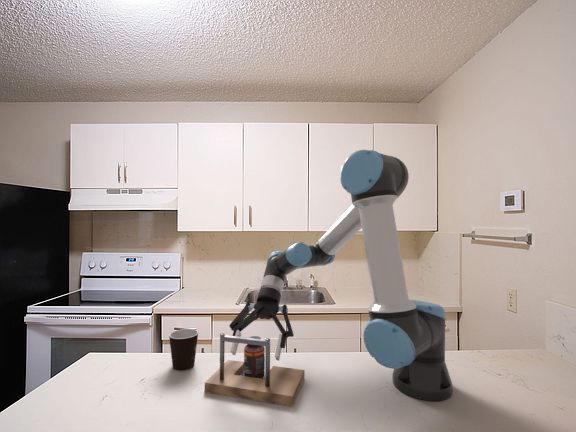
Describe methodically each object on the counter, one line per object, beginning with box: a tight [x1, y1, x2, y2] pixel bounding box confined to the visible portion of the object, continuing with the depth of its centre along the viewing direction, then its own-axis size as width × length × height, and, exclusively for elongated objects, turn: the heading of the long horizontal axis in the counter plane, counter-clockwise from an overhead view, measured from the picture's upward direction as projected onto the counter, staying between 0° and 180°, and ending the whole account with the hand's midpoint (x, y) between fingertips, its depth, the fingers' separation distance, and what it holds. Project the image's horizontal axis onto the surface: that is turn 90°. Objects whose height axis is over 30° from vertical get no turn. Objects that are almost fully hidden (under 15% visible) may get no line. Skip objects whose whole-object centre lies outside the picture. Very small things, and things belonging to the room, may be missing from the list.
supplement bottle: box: [243, 335, 266, 379], centre depth 90 cm, size 6×6×11 cm
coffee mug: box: [168, 328, 199, 372], centre depth 98 cm, size 12×9×10 cm
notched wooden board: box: [204, 359, 305, 408], centre depth 86 cm, size 24×14×2 cm, turn 75°
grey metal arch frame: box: [219, 333, 271, 387], centre depth 83 cm, size 14×1×12 cm, turn 75°
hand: (254, 355), depth 90 cm, fingers open, 13 cm apart
